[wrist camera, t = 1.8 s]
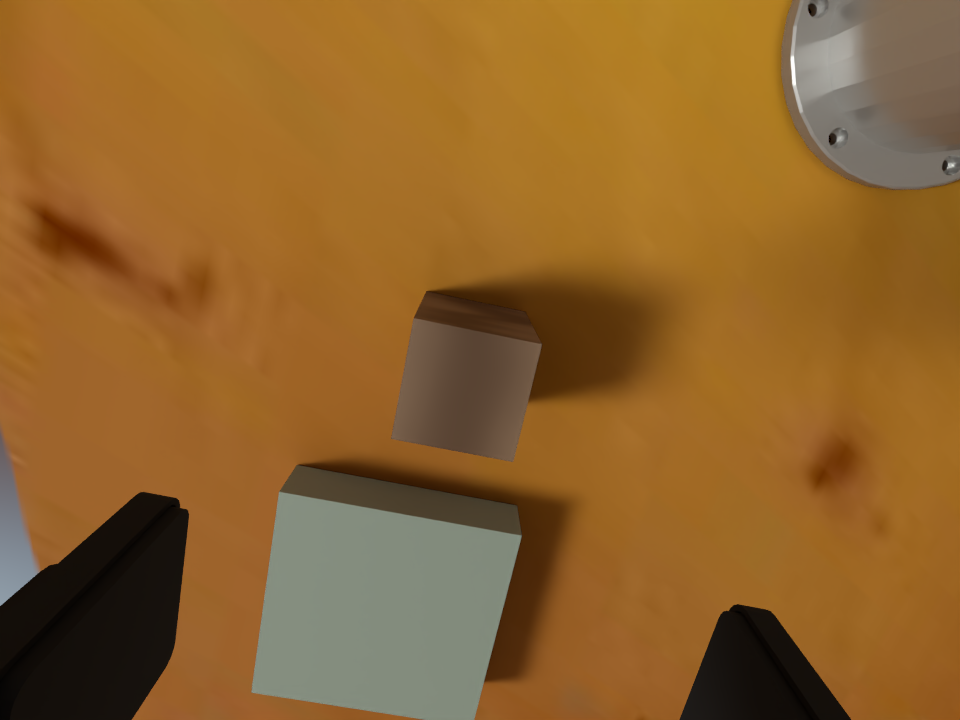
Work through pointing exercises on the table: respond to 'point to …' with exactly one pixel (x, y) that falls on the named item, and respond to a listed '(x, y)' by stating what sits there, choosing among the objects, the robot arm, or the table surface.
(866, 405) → the table surface
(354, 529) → the plate
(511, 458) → the walnut block
